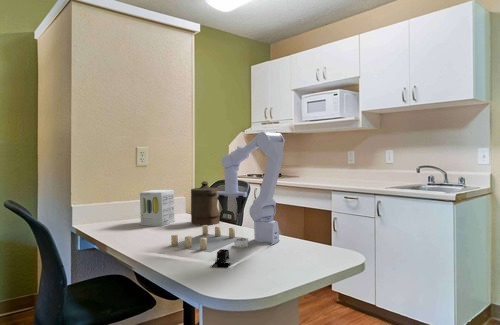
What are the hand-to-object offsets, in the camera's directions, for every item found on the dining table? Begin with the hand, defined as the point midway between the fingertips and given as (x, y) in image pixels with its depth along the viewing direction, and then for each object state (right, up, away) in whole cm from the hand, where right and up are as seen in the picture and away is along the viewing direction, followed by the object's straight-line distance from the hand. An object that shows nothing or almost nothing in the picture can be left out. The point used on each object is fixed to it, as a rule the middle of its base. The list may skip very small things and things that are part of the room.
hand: (232, 212), depth 154 cm
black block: (-1, -11, -40) cm, 42 cm away
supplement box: (-41, -11, +33) cm, 54 cm away
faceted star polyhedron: (+5, -10, -23) cm, 25 cm away
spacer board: (-9, -10, -15) cm, 21 cm away
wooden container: (-16, -10, +31) cm, 36 cm away
